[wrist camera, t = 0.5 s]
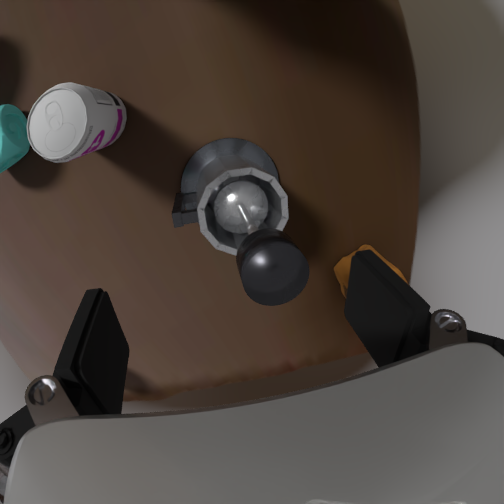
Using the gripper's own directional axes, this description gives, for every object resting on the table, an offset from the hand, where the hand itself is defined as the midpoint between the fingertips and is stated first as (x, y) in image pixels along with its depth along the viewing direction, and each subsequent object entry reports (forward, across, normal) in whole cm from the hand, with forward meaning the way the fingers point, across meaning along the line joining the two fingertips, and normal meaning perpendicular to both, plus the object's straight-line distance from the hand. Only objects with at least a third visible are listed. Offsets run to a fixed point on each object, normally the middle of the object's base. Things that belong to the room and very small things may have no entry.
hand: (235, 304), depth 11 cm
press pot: (+33, -3, +4) cm, 33 cm away
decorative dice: (+34, +30, -10) cm, 46 cm away
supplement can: (+34, +14, -8) cm, 37 cm away
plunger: (+23, -3, +4) cm, 23 cm away
